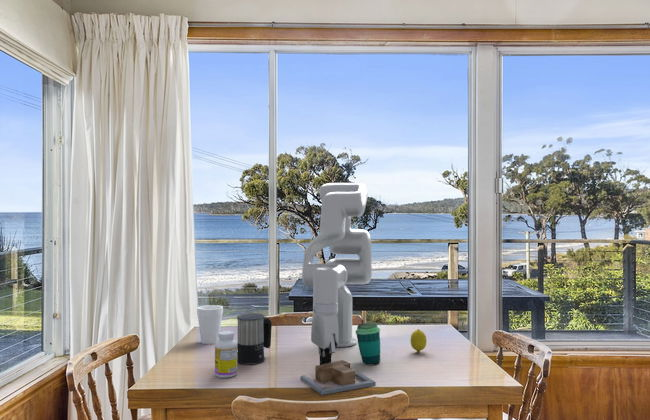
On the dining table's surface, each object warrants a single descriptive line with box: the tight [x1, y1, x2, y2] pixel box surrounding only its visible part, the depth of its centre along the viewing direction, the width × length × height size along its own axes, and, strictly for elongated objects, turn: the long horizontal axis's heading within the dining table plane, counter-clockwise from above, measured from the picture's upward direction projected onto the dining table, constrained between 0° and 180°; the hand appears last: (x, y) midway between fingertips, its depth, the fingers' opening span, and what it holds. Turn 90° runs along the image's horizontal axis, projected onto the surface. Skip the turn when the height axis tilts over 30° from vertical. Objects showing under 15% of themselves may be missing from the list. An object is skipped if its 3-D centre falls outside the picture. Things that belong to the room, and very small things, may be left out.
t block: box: [314, 359, 356, 386], centre depth 146 cm, size 10×10×4 cm
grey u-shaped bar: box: [299, 367, 377, 396], centre depth 145 cm, size 14×17×1 cm
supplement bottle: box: [214, 330, 238, 379], centre depth 151 cm, size 7×7×13 cm
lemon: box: [409, 328, 427, 353], centre depth 175 cm, size 6×6×8 cm
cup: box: [355, 322, 381, 366], centre depth 164 cm, size 8×8×12 cm
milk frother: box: [236, 312, 272, 365], centre depth 168 cm, size 14×16×15 cm
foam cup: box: [196, 304, 224, 345], centre depth 189 cm, size 10×9×13 cm
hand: (325, 368), depth 151 cm, fingers closed
